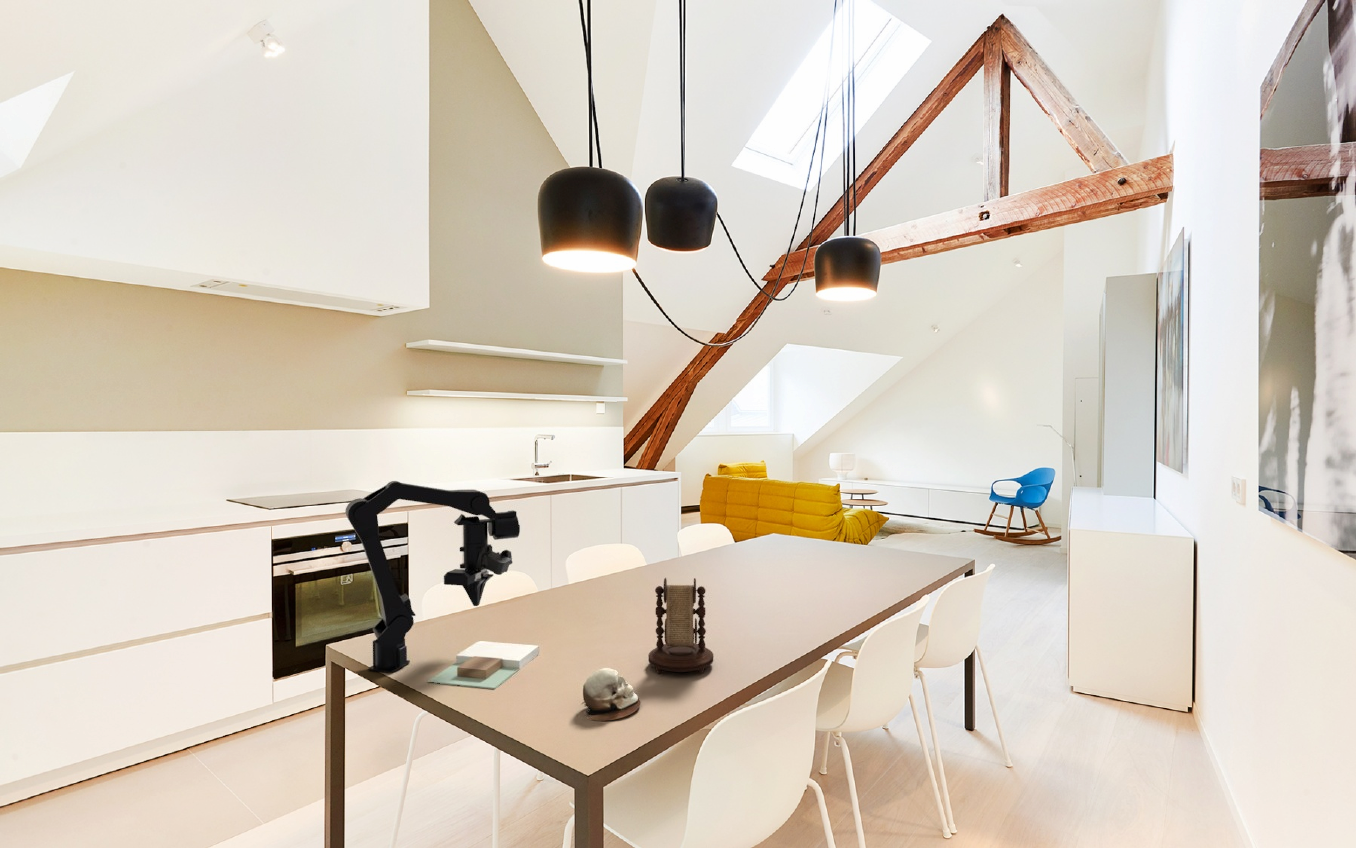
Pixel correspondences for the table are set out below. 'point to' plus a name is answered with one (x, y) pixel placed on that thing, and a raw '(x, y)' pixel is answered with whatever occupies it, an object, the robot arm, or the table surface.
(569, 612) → the table surface
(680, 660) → the scroll
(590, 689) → the skull
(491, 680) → the mat
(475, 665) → the tile
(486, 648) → the plate
